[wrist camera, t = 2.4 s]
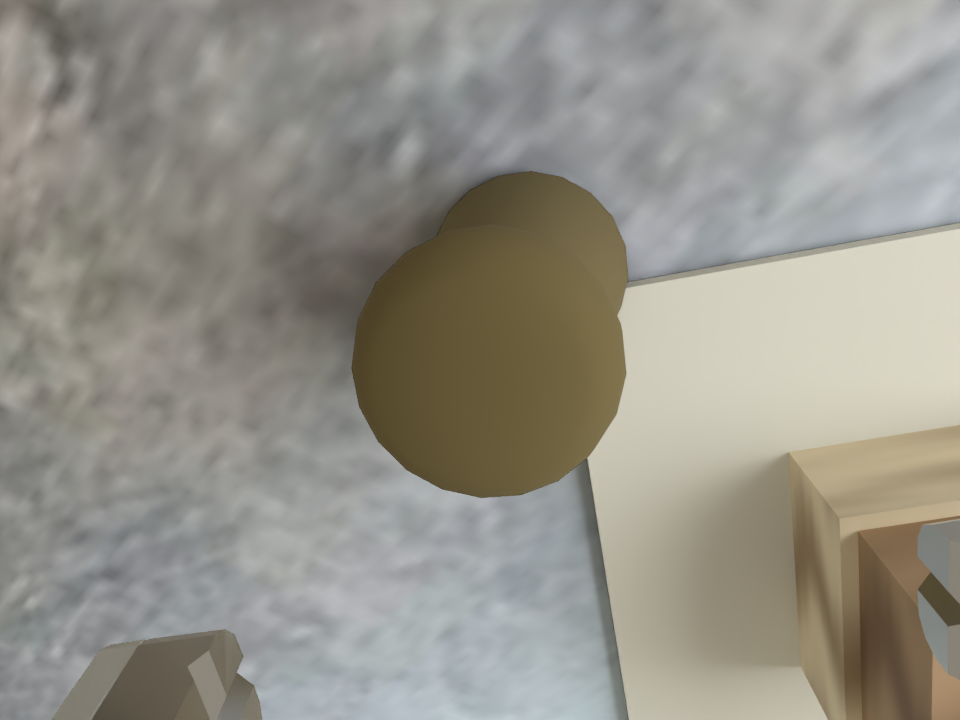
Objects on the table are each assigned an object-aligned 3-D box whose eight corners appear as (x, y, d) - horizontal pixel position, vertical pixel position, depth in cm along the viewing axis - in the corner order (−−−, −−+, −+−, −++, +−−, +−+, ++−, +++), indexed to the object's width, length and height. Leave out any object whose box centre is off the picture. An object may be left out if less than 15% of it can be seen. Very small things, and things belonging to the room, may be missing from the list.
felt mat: (560, 294, 24) (562, 299, 24) (1310, 160, 23) (1332, 162, 22) (641, 801, 32) (644, 815, 31) (1207, 731, 30) (1221, 743, 30)
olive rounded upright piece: (544, 404, 25) (508, 608, 14) (393, 289, 24) (243, 414, 14) (671, 256, 23) (734, 368, 13) (508, 128, 23) (435, 134, 12)
